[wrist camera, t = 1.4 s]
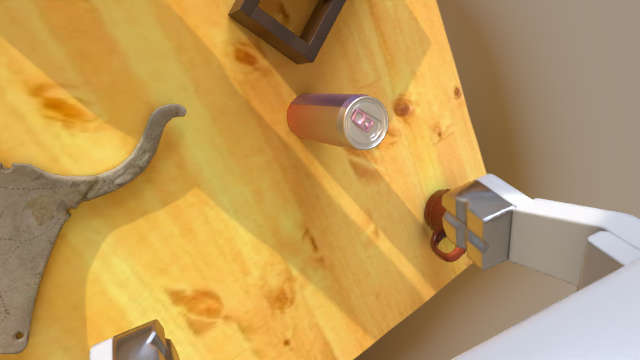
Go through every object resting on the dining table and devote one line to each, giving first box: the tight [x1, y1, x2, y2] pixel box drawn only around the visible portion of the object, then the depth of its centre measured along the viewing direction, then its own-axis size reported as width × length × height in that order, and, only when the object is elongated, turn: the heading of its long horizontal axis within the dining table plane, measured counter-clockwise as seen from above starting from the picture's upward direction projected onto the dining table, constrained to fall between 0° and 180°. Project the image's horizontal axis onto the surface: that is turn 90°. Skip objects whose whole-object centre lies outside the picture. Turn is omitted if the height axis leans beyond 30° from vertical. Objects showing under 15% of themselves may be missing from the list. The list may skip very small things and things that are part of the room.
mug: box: [424, 189, 466, 262], centre depth 68 cm, size 12×9×10 cm
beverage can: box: [287, 93, 389, 151], centre depth 52 cm, size 6×6×15 cm
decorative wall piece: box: [0, 104, 186, 354], centre depth 44 cm, size 30×3×30 cm
